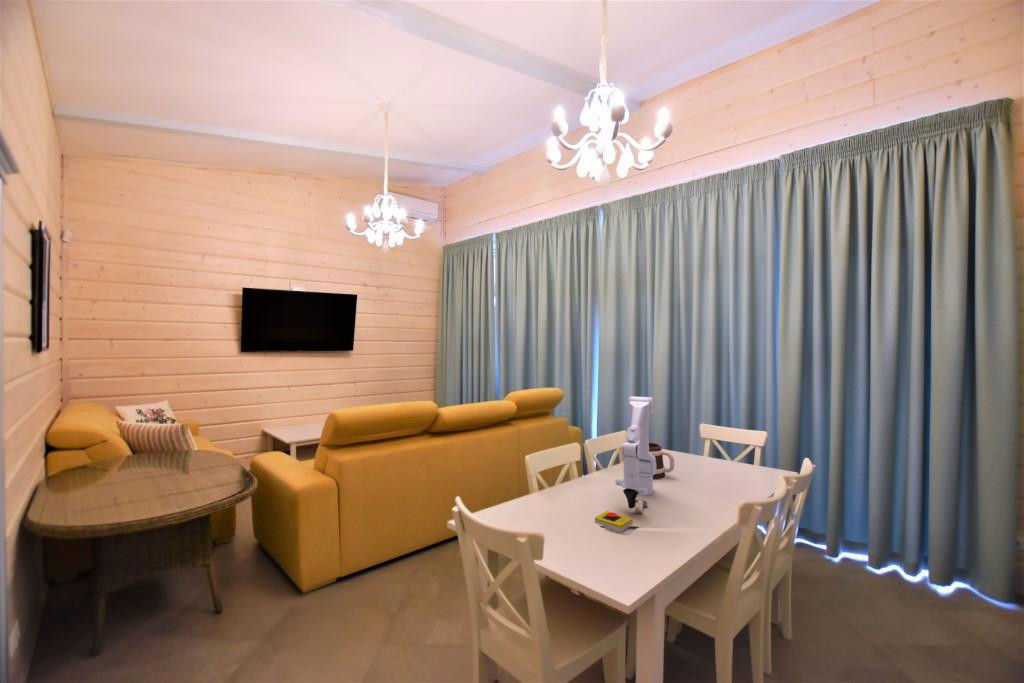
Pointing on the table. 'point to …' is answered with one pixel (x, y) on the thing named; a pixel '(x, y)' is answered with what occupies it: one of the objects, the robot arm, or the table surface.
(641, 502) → the crank
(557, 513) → the table surface
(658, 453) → the mug
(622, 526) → the emergency button
